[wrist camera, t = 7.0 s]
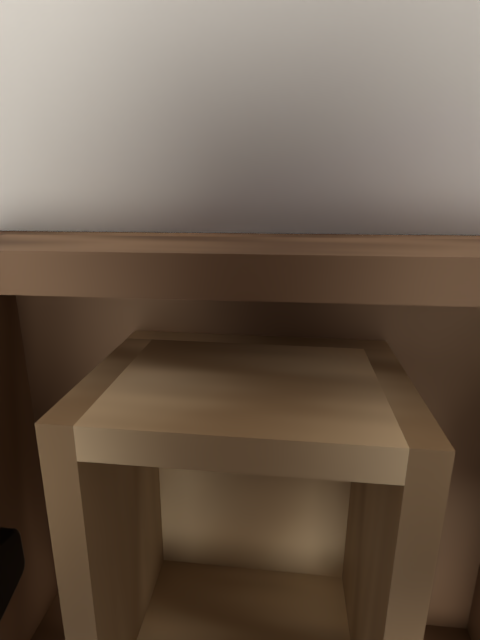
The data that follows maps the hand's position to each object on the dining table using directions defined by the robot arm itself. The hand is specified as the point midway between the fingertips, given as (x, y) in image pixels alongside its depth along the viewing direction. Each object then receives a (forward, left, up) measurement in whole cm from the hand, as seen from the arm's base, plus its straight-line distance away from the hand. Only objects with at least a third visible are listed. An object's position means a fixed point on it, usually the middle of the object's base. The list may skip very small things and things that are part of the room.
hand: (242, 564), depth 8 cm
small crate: (0, 0, -3) cm, 3 cm away
